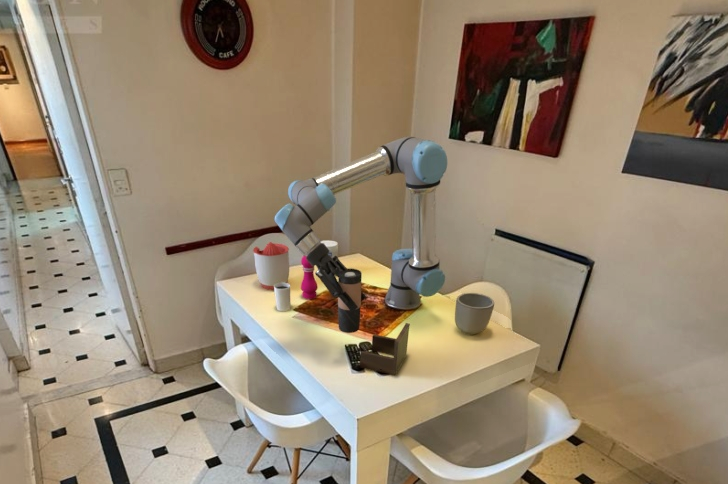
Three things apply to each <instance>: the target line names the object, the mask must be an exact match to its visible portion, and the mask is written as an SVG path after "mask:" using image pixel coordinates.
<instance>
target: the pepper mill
mask: <svg viewBox="0 0 728 484" xmlns="http://www.w3.org/2000/svg"><path fill="white" fill-rule="evenodd" d="M306 257H307V256H303V255H302V257H301V259H300V260H301V261H300V263H301V265H302V271H303V277H302V281H301V283H300V290H301V291H302V294H301V295H302V298H303V299H305V300H314V299H316V298H317V296H318V295H317V293H318V292H317V290H318V282H317V280H316V278H315V275H314V274H315V273H314V271H315V266H312V265H311V264H310V263H309V262H308V261H307V260H306Z"/></svg>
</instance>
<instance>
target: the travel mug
mask: <svg viewBox="0 0 728 484" xmlns="http://www.w3.org/2000/svg"><path fill="white" fill-rule="evenodd" d="M362 276H363V275H362V271H361V270H359V269H356V268H347V269H346V270H345V271H341V270H340V271H339V274H338V277H337V278H338V279H337V281H338V283H339V285H340V286H341V288H342V290H343V293H344V292H346V293H347V294H348V295H349V296H350V298H351V299H352V300H353V301H354V302H355V304H356V305H357V306H358V308H357V309H355V310H354V311H353V312H351V311H350V310H349V308H348V307H347V306H346V305H345V304H344V303H343V301H342V300H341V299H340V298H339V297H338V298H337V309H338V310H337V315H338V320H337V321H338V330H339V331H340V332H342V333H346V334H352V333H357V332H358V331H359V330H360V326H361V325H360V324H361V308H362V301H361V291H362V278H363V277H362Z"/></svg>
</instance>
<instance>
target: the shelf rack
mask: <svg viewBox="0 0 728 484" xmlns="http://www.w3.org/2000/svg"><path fill="white" fill-rule="evenodd" d="M410 326H411V323H408V322H405V324H404V325H403V327H402V329H401V330H400V332H399V333H398V335H397V337H396V338H394V337H390V336H385V335H379V334H373V335H372V338H371V339H372V340H371V351H372V352H369V351H365V350H361V352H360V361H359V368H360V369H365V370H370V371H373V372H374V371H375V372H378V373H382V374H386V375H391V376H397V374H398V372H399V370H400V368H401V366H402V365H403V363H404V361H405V359H406V357H407V353H408V343H409V333H410ZM375 352H379V353H382V354H387V355H382V354H379V353H375ZM388 355H392V356H388ZM380 369H382V370H380Z"/></svg>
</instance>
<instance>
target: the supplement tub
mask: <svg viewBox="0 0 728 484" xmlns="http://www.w3.org/2000/svg"><path fill="white" fill-rule="evenodd" d="M321 243H324V244H325V246H326V247H327V248H328V249H329V251H330V252H329V253H328V255H329V256H330V257H331V258H333V257H334V256H337V257H338V258H339V243H338V242H337V241H335V240H328V239H327V240H321ZM336 264H337V263H336Z"/></svg>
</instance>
